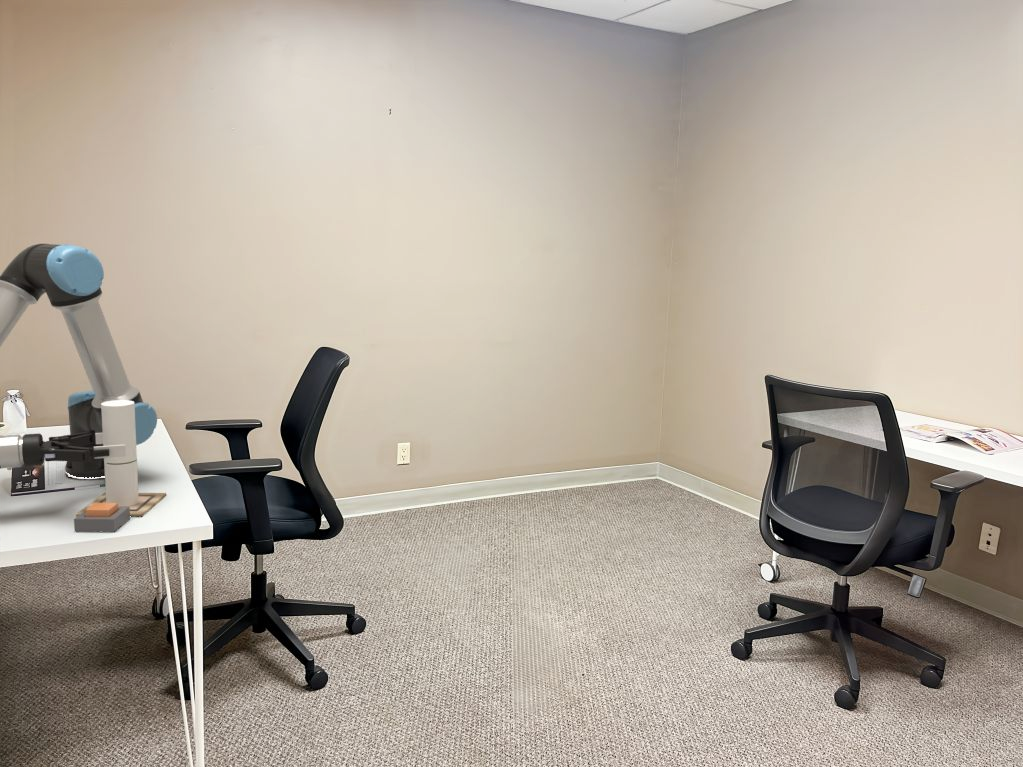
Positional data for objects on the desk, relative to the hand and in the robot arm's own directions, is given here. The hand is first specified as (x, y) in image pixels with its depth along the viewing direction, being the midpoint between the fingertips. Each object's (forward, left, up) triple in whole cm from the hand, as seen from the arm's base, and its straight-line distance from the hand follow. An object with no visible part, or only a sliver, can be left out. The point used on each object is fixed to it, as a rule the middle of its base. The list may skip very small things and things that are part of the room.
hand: (125, 443), depth 190 cm
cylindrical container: (0, -1, -15) cm, 15 cm away
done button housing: (+14, 0, -16) cm, 21 cm away
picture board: (0, -1, -16) cm, 16 cm away
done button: (+14, 0, -14) cm, 20 cm away
